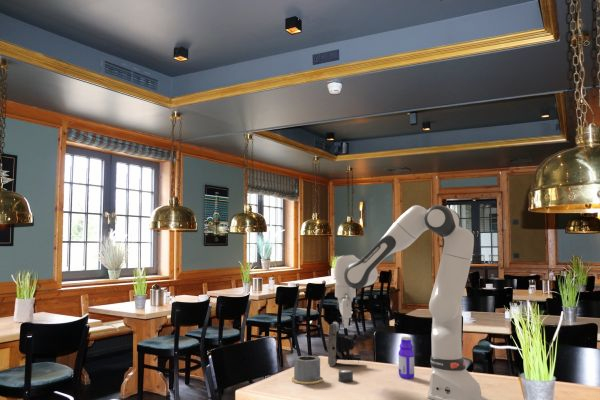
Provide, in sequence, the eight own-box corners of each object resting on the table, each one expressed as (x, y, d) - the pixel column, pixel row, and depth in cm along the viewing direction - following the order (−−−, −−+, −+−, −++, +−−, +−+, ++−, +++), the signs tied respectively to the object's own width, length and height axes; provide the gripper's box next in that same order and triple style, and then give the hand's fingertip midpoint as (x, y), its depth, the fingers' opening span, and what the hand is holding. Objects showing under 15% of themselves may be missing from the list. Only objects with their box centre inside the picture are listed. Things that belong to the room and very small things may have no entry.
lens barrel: (328, 382, 215) (328, 359, 216) (301, 386, 209) (301, 363, 210) (312, 375, 226) (312, 354, 227) (286, 378, 220) (286, 357, 221)
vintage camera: (360, 369, 240) (361, 325, 241) (327, 366, 243) (328, 323, 245) (362, 364, 249) (363, 322, 251) (330, 362, 252) (331, 320, 254)
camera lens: (355, 381, 216) (355, 371, 217) (343, 383, 213) (343, 373, 214) (347, 378, 222) (347, 368, 222) (335, 380, 219) (335, 370, 219)
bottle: (417, 378, 221) (416, 337, 222) (405, 380, 219) (405, 337, 220) (407, 374, 227) (406, 334, 229) (396, 376, 225) (395, 335, 227)
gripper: (354, 295, 210) (354, 330, 209) (350, 290, 231) (350, 322, 229) (339, 295, 210) (339, 330, 209) (336, 290, 231) (336, 322, 230)
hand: (345, 326), depth 219 cm, fingers open, 8 cm apart
